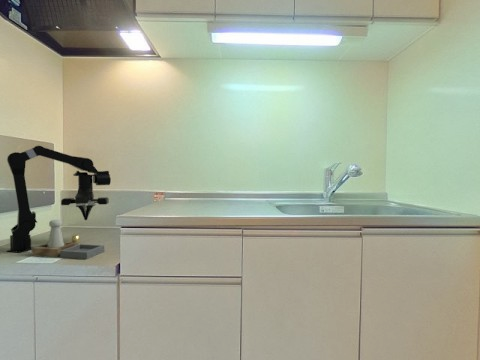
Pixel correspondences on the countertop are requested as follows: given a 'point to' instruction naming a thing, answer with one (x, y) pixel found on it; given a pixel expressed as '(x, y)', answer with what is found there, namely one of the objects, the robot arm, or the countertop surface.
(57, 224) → the salt shaker
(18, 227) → the robot arm
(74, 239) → the key
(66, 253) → the tray
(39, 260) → the countertop surface
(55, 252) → the socket block
